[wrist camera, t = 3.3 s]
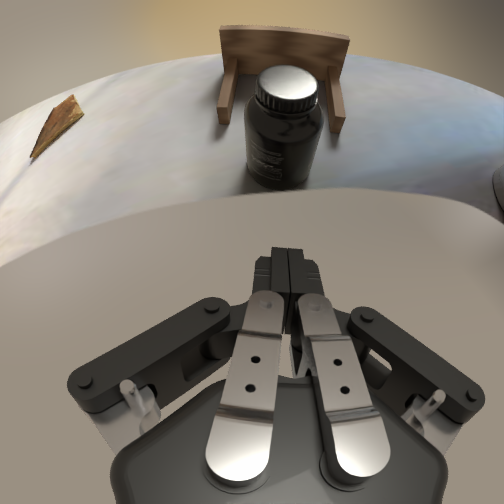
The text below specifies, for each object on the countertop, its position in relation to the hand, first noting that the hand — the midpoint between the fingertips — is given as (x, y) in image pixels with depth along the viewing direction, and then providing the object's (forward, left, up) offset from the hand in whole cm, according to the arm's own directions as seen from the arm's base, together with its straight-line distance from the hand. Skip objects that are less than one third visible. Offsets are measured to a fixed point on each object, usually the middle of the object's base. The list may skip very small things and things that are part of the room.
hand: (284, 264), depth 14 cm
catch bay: (0, -24, -12) cm, 27 cm away
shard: (+33, -22, -13) cm, 42 cm away
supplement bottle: (0, -14, -13) cm, 19 cm away
